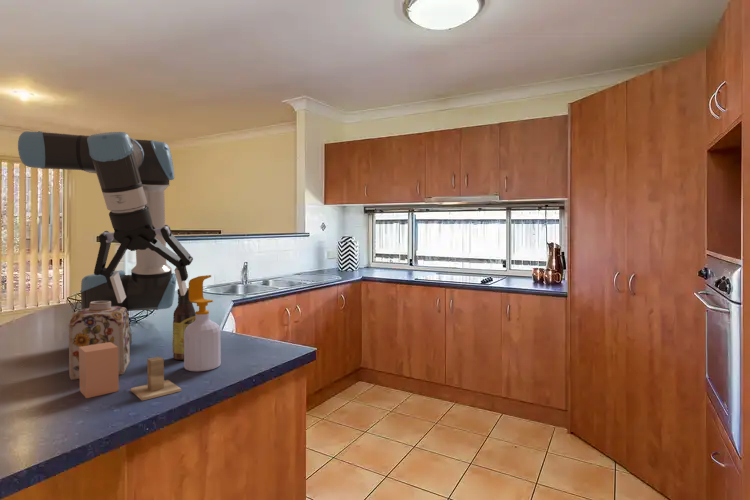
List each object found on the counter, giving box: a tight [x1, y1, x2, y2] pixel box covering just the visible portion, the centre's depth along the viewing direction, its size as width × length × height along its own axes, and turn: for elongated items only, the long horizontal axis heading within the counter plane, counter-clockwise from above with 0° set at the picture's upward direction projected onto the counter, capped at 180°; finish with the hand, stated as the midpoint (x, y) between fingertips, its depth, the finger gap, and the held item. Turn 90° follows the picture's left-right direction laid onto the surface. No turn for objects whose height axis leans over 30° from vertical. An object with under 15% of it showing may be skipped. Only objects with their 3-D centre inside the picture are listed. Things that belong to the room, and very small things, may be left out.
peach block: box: [79, 342, 120, 399], centre depth 95 cm, size 6×6×10 cm
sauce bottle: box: [172, 287, 196, 361], centre depth 121 cm, size 6×6×20 cm
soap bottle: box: [183, 274, 222, 373], centre depth 113 cm, size 9×9×25 cm
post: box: [130, 356, 182, 401], centre depth 95 cm, size 8×8×7 cm
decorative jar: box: [68, 301, 131, 381], centre depth 109 cm, size 12×12×18 cm
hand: (153, 296), depth 98 cm, fingers open, 13 cm apart
